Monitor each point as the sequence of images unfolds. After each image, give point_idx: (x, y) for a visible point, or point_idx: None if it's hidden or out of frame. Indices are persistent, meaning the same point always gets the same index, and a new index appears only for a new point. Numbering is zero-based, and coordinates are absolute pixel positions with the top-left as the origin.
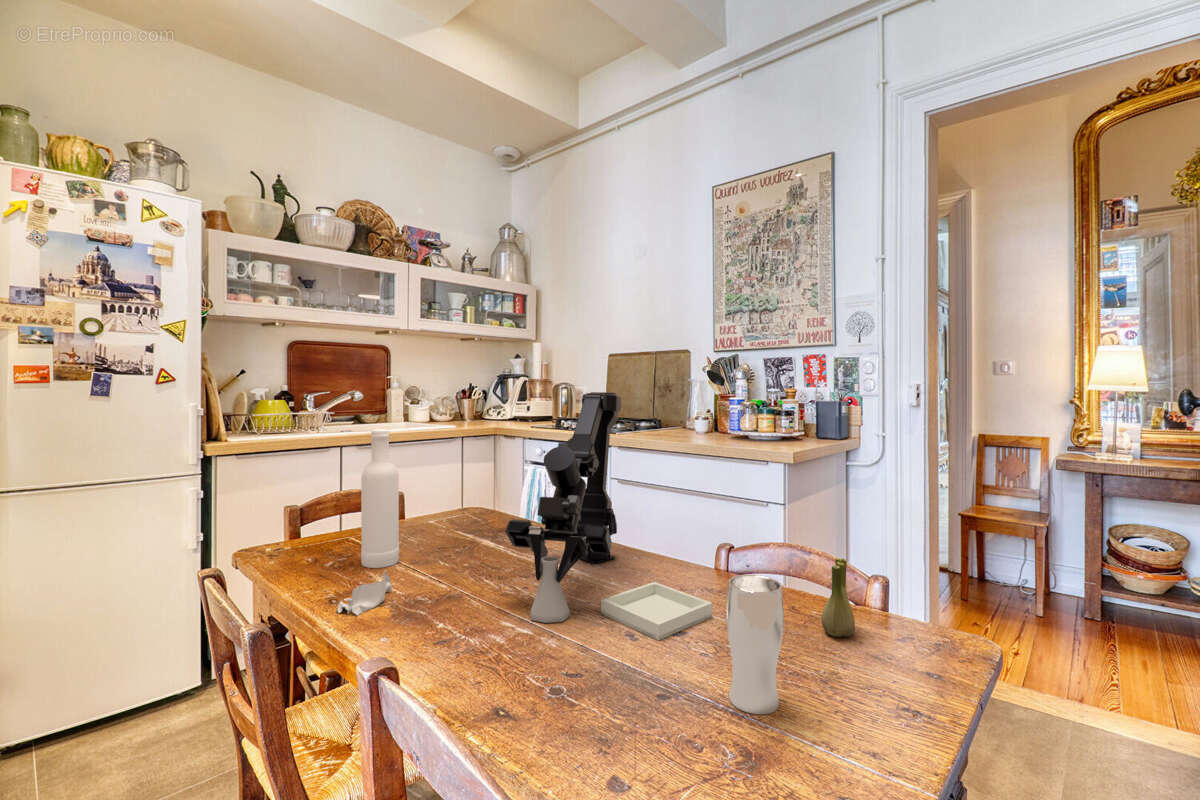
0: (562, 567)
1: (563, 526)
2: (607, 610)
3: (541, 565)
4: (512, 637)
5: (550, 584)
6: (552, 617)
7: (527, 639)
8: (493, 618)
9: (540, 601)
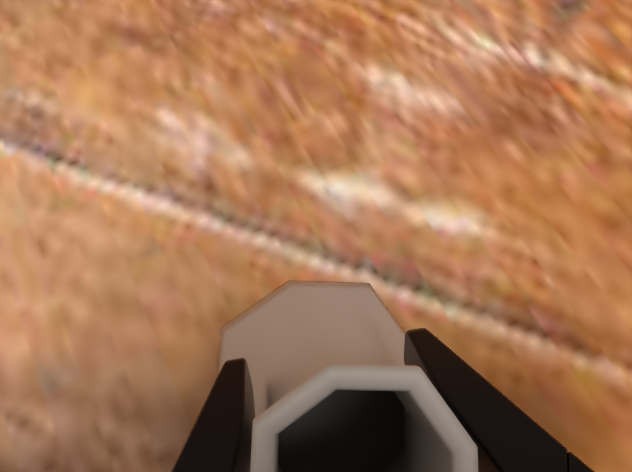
0: (197, 451)
1: None
2: None
3: None
4: (357, 117)
5: (299, 352)
6: (265, 304)
7: (292, 124)
8: (538, 244)
9: (346, 310)
